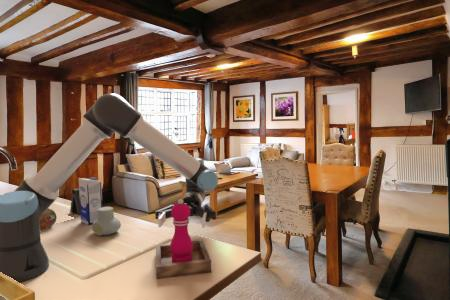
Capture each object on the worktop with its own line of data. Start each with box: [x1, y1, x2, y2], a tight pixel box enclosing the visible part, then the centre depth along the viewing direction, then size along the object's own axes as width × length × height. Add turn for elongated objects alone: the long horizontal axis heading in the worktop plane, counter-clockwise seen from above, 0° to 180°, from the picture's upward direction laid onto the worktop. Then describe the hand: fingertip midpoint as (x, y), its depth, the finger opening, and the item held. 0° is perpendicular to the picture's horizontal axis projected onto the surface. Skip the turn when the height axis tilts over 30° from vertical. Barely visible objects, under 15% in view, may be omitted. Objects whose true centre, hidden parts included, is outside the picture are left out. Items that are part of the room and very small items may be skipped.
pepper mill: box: [170, 198, 193, 263], centre depth 99 cm, size 7×7×20 cm
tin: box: [39, 208, 57, 231], centre depth 130 cm, size 15×3×8 cm, turn 126°
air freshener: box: [91, 206, 122, 237], centre depth 126 cm, size 11×8×10 cm
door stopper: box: [69, 187, 81, 217], centre depth 152 cm, size 9×6×12 cm, turn 52°
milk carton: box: [78, 176, 104, 227], centre depth 138 cm, size 7×7×20 cm
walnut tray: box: [155, 240, 212, 279], centre depth 100 cm, size 16×16×4 cm
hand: (181, 223), depth 97 cm, fingers open, 13 cm apart
